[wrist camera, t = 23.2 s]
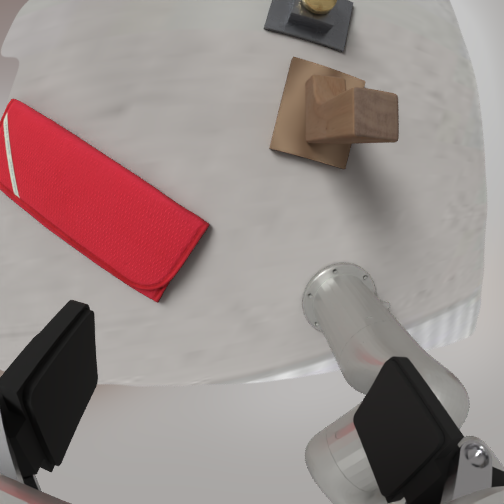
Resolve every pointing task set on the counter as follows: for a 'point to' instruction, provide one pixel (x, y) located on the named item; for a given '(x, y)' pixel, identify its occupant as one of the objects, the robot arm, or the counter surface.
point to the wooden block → (348, 113)
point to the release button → (319, 5)
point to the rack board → (294, 116)
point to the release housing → (311, 22)
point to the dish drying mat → (94, 202)
